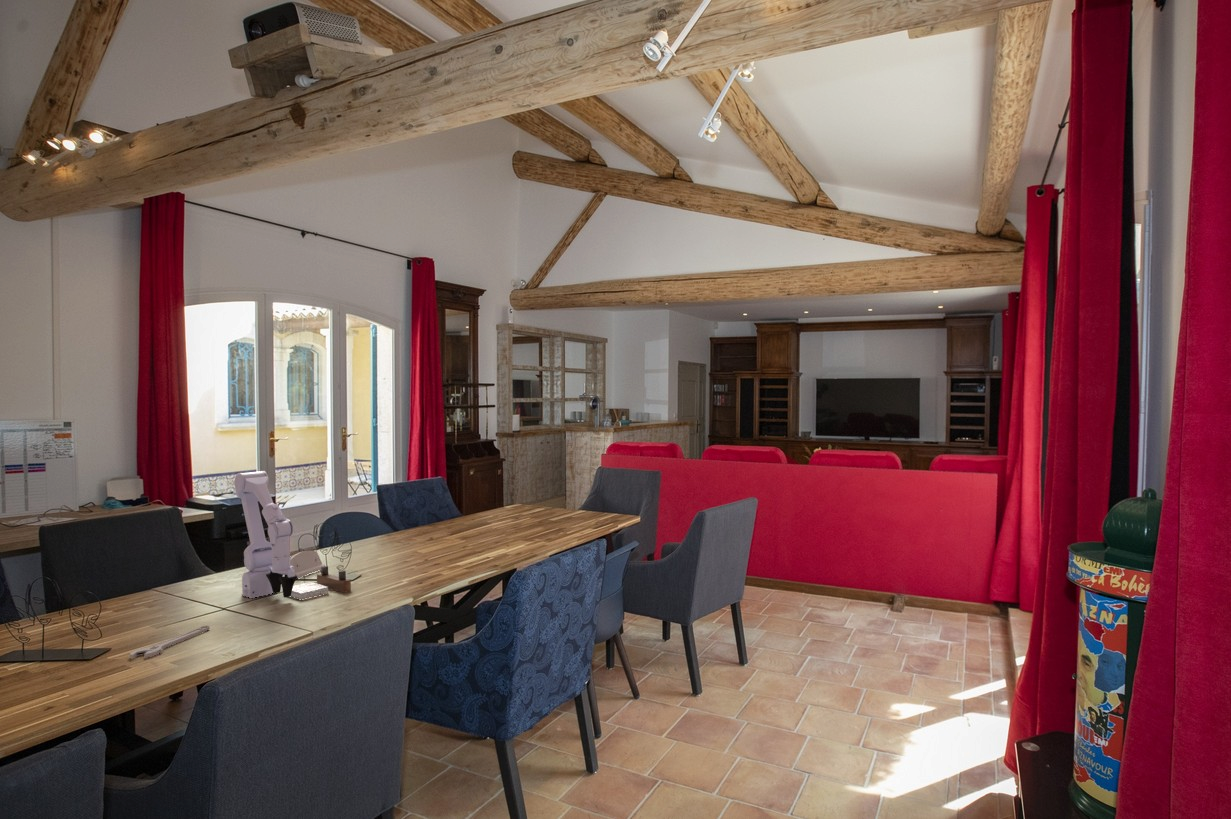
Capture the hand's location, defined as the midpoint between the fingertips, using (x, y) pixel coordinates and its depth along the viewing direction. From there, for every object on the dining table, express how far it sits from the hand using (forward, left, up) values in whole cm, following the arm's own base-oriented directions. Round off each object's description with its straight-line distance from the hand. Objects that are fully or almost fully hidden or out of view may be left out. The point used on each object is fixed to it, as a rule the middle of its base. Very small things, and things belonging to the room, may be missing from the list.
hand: (281, 594), depth 244 cm
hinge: (+24, +30, -2) cm, 39 cm away
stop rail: (+19, 0, -2) cm, 19 cm away
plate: (+9, 0, -2) cm, 9 cm away
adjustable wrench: (-40, -18, -2) cm, 44 cm away
